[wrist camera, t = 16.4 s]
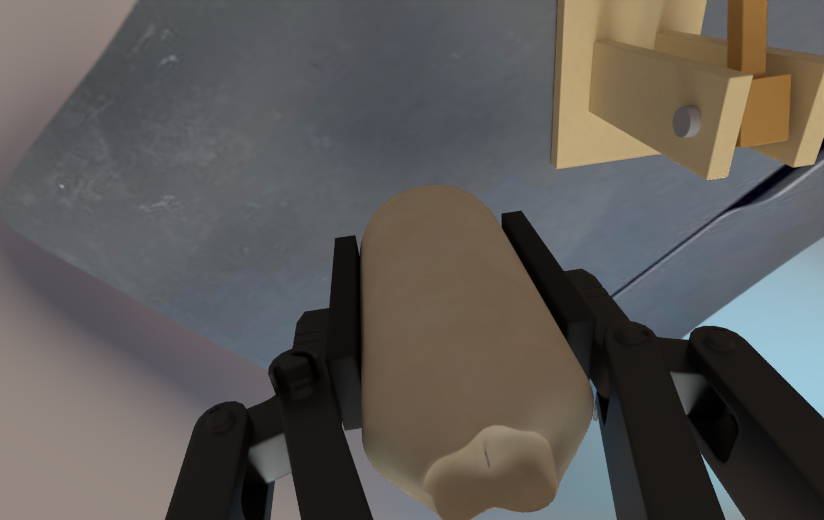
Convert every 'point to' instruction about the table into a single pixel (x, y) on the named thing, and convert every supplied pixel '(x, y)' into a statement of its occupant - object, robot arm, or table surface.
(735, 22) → the lever
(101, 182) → the table surface
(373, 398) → the candle
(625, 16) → the bracket
